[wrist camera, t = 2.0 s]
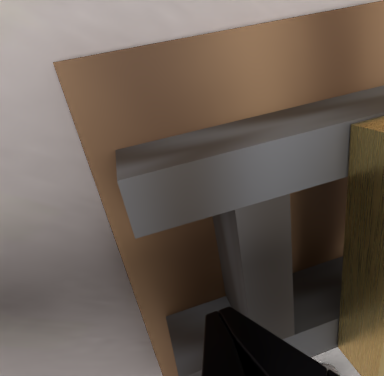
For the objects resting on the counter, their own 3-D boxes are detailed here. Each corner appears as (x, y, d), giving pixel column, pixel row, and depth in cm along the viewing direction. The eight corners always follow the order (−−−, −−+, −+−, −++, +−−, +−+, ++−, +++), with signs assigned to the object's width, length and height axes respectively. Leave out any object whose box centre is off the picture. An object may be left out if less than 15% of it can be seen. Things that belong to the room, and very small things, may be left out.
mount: (164, 372, 16) (178, 453, 13) (57, 62, 9) (26, 61, 6) (431, 272, 19) (501, 318, 16) (498, -21, 12) (649, -54, 9)
